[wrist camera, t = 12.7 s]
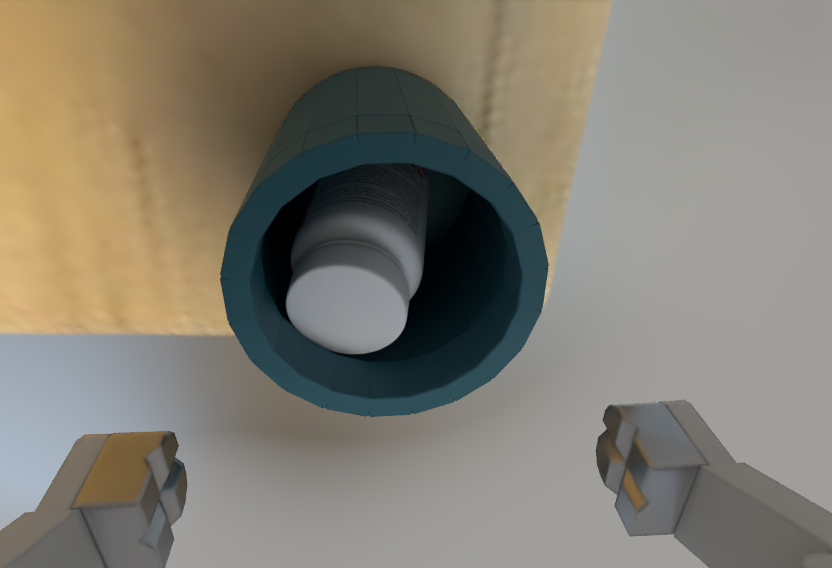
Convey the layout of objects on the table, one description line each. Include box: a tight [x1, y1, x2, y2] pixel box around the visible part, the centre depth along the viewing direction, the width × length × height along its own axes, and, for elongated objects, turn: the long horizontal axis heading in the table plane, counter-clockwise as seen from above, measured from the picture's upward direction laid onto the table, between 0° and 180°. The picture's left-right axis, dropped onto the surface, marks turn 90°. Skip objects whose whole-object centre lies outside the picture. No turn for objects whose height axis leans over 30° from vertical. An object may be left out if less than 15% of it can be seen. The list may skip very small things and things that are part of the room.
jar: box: [220, 67, 549, 417], centre depth 21 cm, size 9×9×11 cm
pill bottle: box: [286, 163, 429, 354], centre depth 21 cm, size 5×5×8 cm
